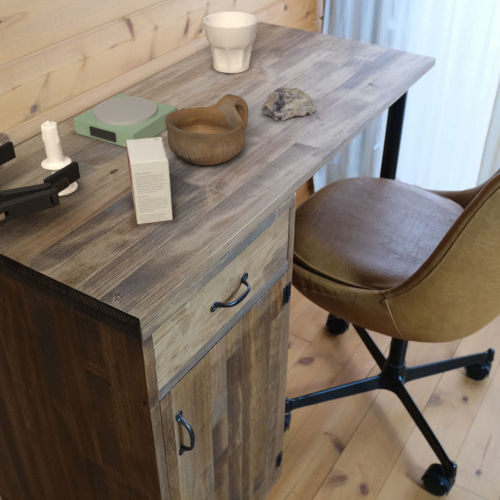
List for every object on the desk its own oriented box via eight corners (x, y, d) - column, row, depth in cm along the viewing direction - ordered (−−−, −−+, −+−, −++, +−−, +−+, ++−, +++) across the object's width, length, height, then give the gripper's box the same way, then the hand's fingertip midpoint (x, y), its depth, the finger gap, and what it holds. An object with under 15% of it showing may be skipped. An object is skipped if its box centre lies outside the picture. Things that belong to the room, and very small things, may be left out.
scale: (74, 133, 123) (71, 115, 121) (121, 107, 133) (119, 89, 131) (133, 150, 118) (131, 131, 115) (177, 121, 128) (176, 103, 126)
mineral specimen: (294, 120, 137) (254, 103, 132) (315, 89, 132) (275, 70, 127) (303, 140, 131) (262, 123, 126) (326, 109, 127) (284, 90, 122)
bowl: (191, 118, 125) (202, 72, 119) (256, 148, 124) (270, 103, 117) (146, 157, 112) (156, 107, 105) (218, 192, 110) (232, 143, 104)
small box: (132, 198, 104) (124, 139, 98) (167, 194, 105) (161, 135, 99) (136, 225, 98) (128, 163, 92) (173, 221, 99) (168, 159, 93)
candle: (41, 184, 108) (26, 117, 101) (73, 177, 110) (60, 111, 103) (49, 199, 104) (34, 131, 97) (81, 191, 106) (69, 123, 99)
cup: (194, 70, 150) (192, 22, 144) (222, 54, 159) (221, 8, 152) (241, 80, 145) (240, 30, 139) (267, 63, 154) (268, 16, 147)
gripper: (-121, 222, 93) (-7, 161, 108) (3, 275, 83) (109, 200, 98) (-139, 177, 89) (-18, 120, 104) (-11, 227, 79) (103, 156, 94)
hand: (44, 159), depth 101 cm, fingers open, 13 cm apart
